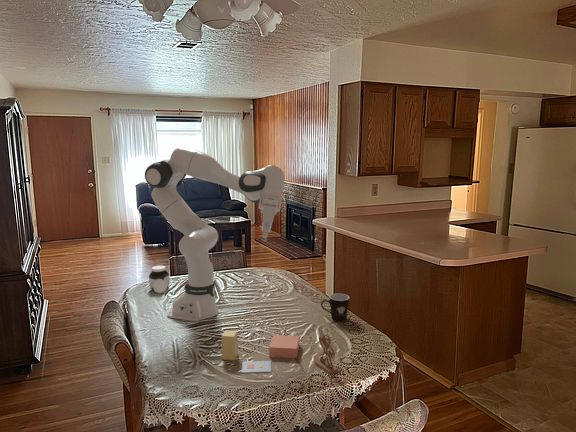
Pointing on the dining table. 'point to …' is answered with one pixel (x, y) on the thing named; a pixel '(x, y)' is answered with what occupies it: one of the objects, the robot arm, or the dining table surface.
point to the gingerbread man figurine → (322, 362)
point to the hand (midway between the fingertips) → (264, 239)
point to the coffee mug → (338, 306)
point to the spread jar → (159, 279)
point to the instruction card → (256, 366)
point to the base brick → (284, 346)
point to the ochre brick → (229, 345)
